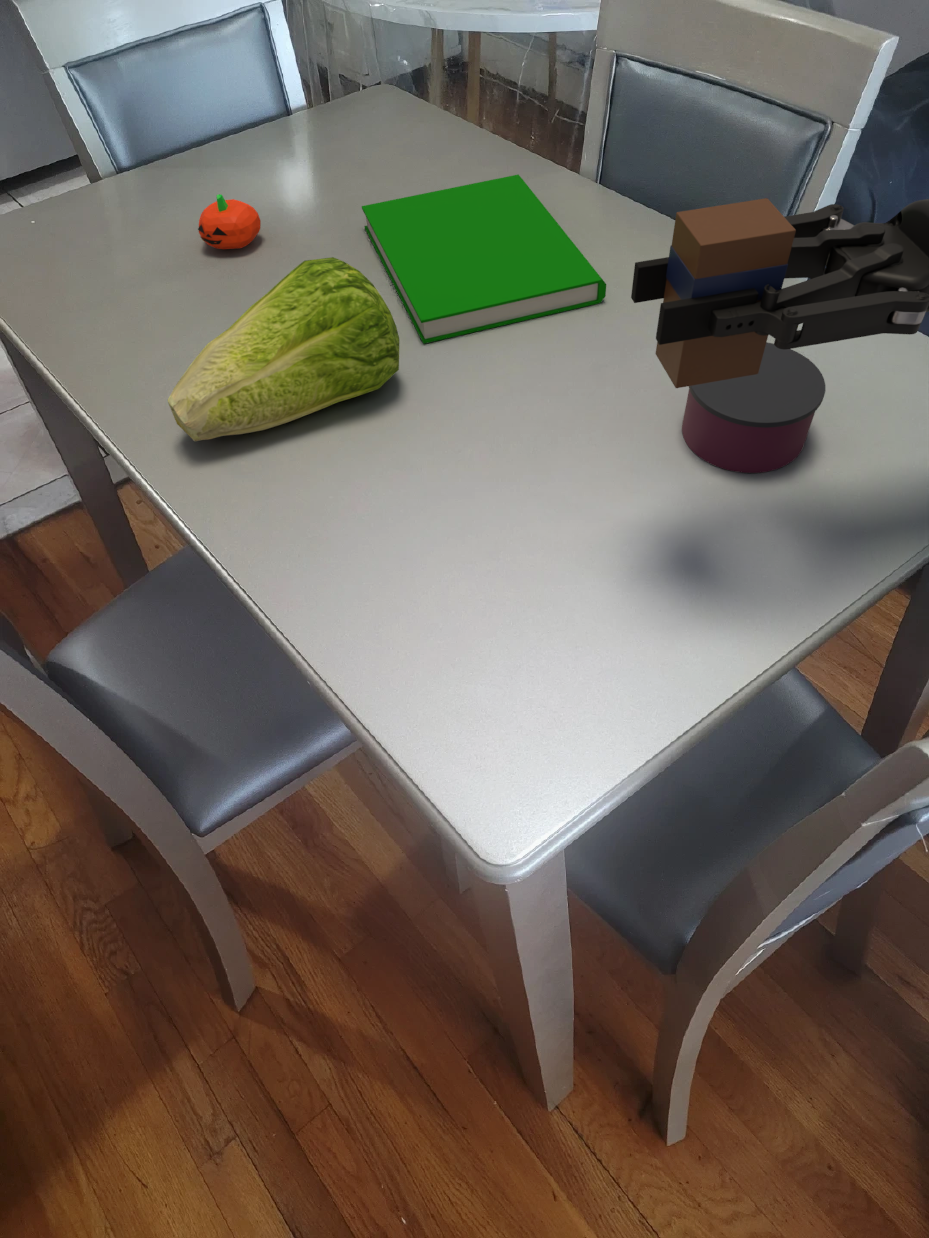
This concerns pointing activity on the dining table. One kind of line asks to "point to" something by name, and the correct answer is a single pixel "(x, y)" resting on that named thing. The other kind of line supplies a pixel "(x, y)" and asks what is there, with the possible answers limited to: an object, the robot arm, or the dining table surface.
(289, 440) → the dining table surface
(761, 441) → the lidded tub
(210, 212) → the pumpkin
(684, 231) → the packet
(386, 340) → the lettuce
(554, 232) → the book
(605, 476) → the dining table surface
